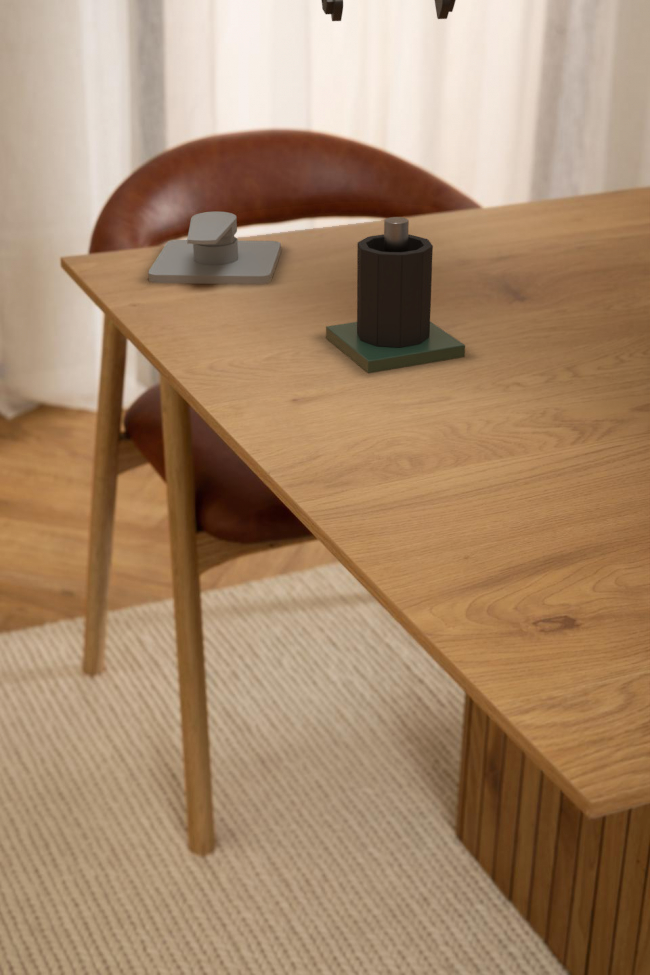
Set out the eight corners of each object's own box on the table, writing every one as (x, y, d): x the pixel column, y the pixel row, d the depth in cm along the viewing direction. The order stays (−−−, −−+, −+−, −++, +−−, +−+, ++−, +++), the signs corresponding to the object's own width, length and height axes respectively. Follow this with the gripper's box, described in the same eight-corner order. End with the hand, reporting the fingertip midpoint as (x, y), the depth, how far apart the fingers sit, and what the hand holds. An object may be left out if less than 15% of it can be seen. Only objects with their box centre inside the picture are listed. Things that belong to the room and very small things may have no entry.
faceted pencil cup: (419, 320, 105) (422, 231, 101) (435, 345, 99) (438, 252, 96) (352, 324, 104) (353, 235, 100) (364, 349, 99) (365, 256, 95)
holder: (416, 324, 107) (420, 201, 102) (464, 358, 100) (471, 227, 95) (325, 339, 104) (324, 213, 99) (368, 374, 97) (369, 240, 92)
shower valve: (137, 237, 114) (165, 198, 127) (141, 292, 116) (169, 248, 129) (265, 238, 113) (280, 199, 126) (267, 293, 115) (282, 249, 129)
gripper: (285, -189, 93) (305, -19, 89) (461, -189, 95) (490, -22, 90) (280, -114, 100) (298, 47, 96) (444, -116, 102) (470, 42, 97)
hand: (391, 13), depth 93 cm, fingers open, 8 cm apart
